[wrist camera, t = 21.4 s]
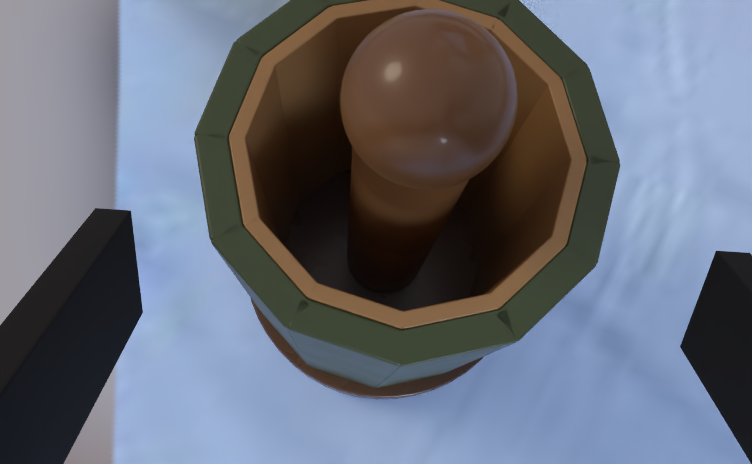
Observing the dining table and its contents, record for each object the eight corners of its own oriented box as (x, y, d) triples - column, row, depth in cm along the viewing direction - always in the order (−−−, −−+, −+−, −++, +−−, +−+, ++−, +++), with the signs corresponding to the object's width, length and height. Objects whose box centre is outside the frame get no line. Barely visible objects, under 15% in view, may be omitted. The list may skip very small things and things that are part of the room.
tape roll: (389, 94, 29) (419, -96, 18) (556, 266, 27) (697, 167, 16) (202, 244, 26) (111, 128, 16) (372, 441, 25) (397, 458, 14)
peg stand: (389, 96, 30) (448, -274, 14) (564, 274, 28) (862, 85, 12) (195, 253, 28) (-3, 24, 12) (373, 459, 26) (430, 526, 10)
